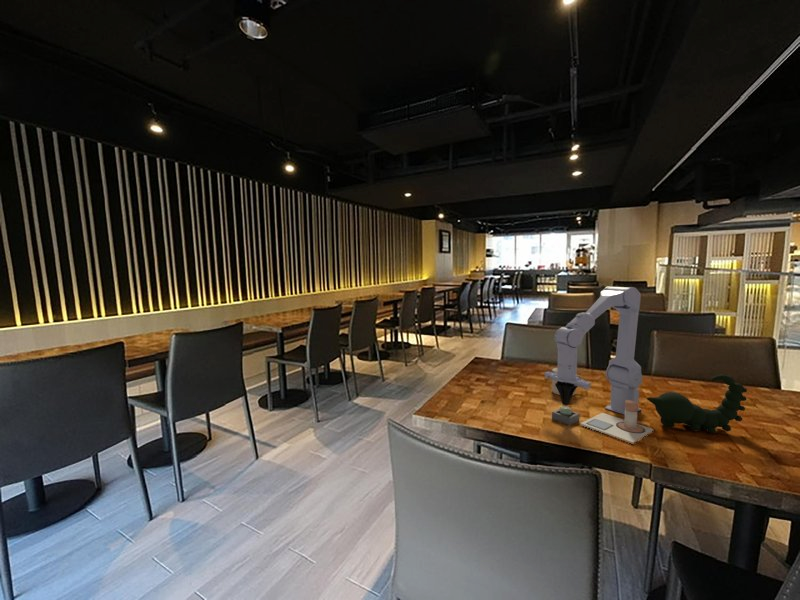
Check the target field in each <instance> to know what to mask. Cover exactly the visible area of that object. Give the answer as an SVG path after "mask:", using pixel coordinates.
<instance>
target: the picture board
mask: <svg viewBox="0 0 800 600" xmlns="http://www.w3.org/2000/svg"><path fill="white" fill-rule="evenodd" d="M579 426H580V427H583V426H584V428H585V427H587V428H586V429H588V428H590V429H589V430H591V429H592V430H591V431H594V430H596V431H599V432H601V433H600V434H602V433H605V434H608V435H610V436H613V437H616V438H619V439H622V440H625V441H627V442H630V443H634V442H636V441H638V440H639V439H641V438H642V437H644V436H646V435H647V434H649V433H650V432H652V431H653V432H654V429H653V428H651V427H649V426H648V427H647V426H645V425H642V424H638V423H637V429H635V430H632V429H628V428H626V427H624V418H619V417H617V416H613V415H611V414H607V413H604V412H600V413H599V414H597V415H594V416H592V417H591V418H588V419H586V420H584V421H581V422H580V425H579ZM596 431H595V432H596ZM599 432H598V433H599ZM653 432H652V433H653ZM650 434H651V433H650ZM650 434H649V435H650ZM610 436H609V437H610ZM647 436H648V435H647ZM647 436H646V437H647ZM644 438H645V437H644ZM641 440H642V439H641ZM638 442H639V441H638Z"/></svg>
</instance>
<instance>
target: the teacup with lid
mask: <svg viewBox="0 0 800 600" xmlns="http://www.w3.org/2000/svg"><path fill="white" fill-rule="evenodd" d="M551 372H552V373H557V367H554V368H552V369H551ZM576 377H577V378H579V379H582V380H583V378H582V376H581V375H579V374H577V376H576ZM557 382H558V381H557V380H553V379H551V392H552V393H553V394H555V395H559V396H560V393H559V391H558V389H557V387H556V386H555V383H557ZM575 394H576V390H575V391H574V393H573V395H572V397H573V396H575Z"/></svg>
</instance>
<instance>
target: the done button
mask: <svg viewBox="0 0 800 600" xmlns="http://www.w3.org/2000/svg"><path fill="white" fill-rule="evenodd" d="M559 409H560V414H562V415H565V416H568V417H569V416H571V415H572V411H573V410H572V408H571V407H569V406H566V405H562V406H560V407H559Z"/></svg>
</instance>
